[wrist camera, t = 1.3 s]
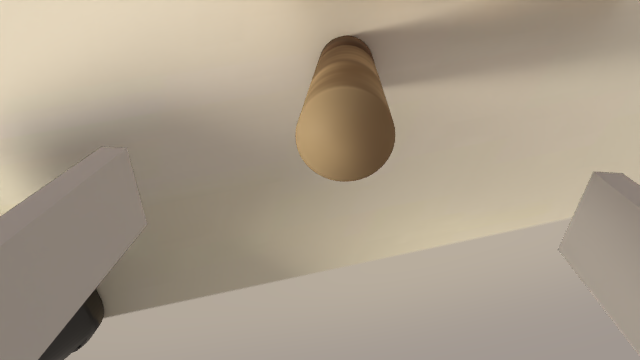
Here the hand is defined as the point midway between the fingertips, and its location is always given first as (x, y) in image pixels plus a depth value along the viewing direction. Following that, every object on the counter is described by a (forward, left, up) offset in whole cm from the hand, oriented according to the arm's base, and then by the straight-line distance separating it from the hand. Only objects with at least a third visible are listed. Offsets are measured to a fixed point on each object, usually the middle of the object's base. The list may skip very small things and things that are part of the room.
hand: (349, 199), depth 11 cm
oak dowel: (0, 0, -18) cm, 18 cm away
